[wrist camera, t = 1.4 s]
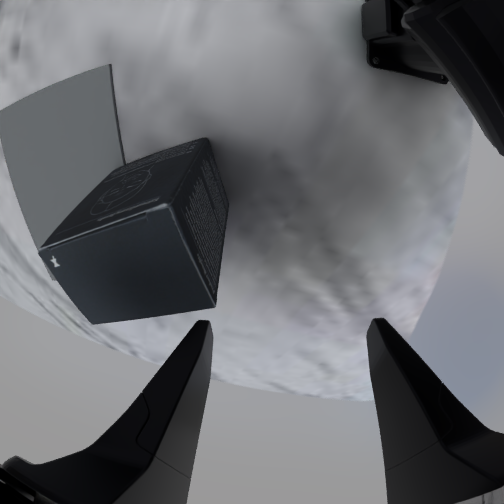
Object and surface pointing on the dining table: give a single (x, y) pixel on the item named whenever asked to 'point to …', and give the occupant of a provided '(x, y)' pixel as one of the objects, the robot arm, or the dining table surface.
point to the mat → (61, 147)
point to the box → (145, 238)
